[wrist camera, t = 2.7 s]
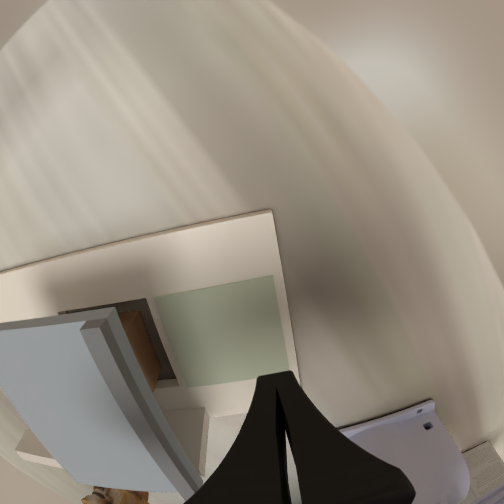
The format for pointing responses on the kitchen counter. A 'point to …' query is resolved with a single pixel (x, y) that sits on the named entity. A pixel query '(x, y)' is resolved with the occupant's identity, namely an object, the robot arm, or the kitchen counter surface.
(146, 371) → the block
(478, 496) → the skincare box
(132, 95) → the kitchen counter surface
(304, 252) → the kitchen counter surface
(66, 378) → the cover
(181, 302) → the puzzle board
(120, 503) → the lion figurine
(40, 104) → the kitchen counter surface
